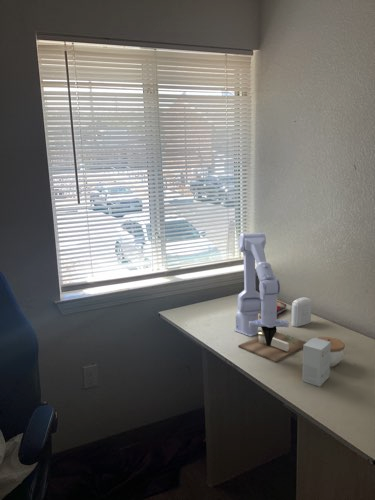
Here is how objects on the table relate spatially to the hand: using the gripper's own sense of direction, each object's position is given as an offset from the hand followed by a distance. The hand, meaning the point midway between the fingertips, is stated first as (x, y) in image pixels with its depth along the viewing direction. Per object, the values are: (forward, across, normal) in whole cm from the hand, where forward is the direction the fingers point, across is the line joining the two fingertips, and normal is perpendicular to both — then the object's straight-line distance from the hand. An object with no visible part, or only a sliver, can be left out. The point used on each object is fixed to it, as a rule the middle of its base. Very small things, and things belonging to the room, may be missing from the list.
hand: (268, 344), depth 154 cm
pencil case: (+5, +10, +45) cm, 46 cm away
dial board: (+4, +4, +8) cm, 10 cm away
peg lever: (+3, +3, +6) cm, 8 cm away
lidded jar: (+5, +21, -6) cm, 22 cm away
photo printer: (+4, +21, +32) cm, 38 cm away
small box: (+5, +13, -18) cm, 23 cm away
